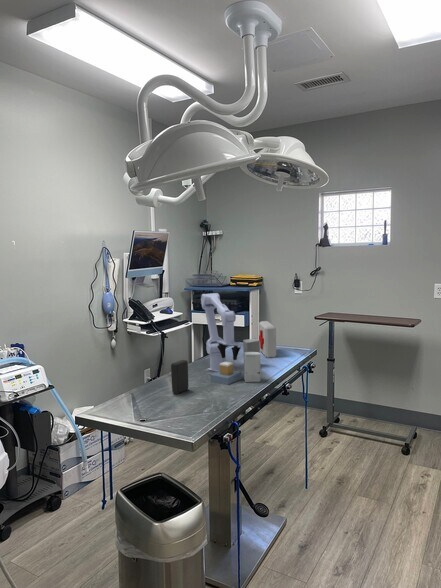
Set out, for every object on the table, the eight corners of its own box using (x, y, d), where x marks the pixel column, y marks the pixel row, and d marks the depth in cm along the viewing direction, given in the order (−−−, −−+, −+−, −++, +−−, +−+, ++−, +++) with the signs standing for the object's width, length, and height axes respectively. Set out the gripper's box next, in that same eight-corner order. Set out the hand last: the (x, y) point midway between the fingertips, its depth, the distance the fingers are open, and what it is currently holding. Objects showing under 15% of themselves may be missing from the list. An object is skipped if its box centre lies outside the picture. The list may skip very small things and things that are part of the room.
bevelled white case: (257, 350, 293) (257, 321, 291) (269, 349, 294) (268, 320, 292) (264, 358, 273) (263, 327, 270) (276, 357, 273) (276, 326, 271)
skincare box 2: (245, 382, 226) (244, 354, 225) (244, 378, 232) (243, 351, 231) (261, 381, 226) (260, 353, 225) (259, 378, 232) (259, 351, 231)
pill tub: (225, 371, 235) (224, 361, 234) (233, 372, 232) (233, 362, 231) (219, 373, 230) (219, 363, 230) (227, 375, 227) (227, 365, 227)
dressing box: (225, 375, 240) (225, 368, 240) (241, 379, 233) (241, 371, 233) (210, 382, 230) (210, 374, 229) (227, 385, 223) (227, 378, 223)
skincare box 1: (256, 363, 261) (255, 337, 259) (260, 366, 254) (260, 340, 252) (242, 365, 258) (242, 339, 256) (247, 368, 251) (246, 341, 250)
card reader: (183, 388, 220) (182, 359, 218) (189, 389, 218) (188, 360, 216) (171, 393, 213) (170, 363, 211) (177, 394, 210) (176, 364, 209)
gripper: (213, 333, 234) (214, 358, 235) (235, 336, 225) (235, 362, 227) (221, 331, 239) (221, 355, 241) (243, 334, 231) (243, 359, 232)
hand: (229, 358), depth 234 cm, fingers open, 7 cm apart
